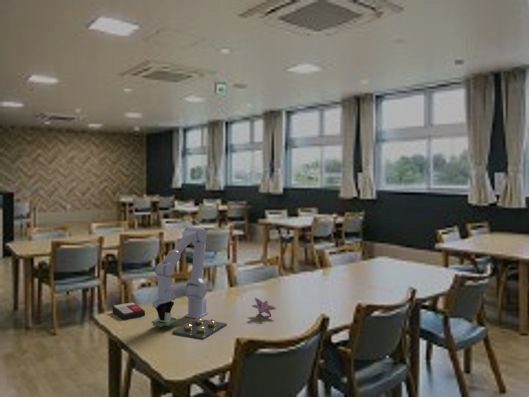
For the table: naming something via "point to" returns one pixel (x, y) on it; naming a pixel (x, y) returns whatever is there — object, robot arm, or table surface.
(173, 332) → the chassis
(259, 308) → the lily
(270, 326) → the table surface
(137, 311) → the grey and red box
